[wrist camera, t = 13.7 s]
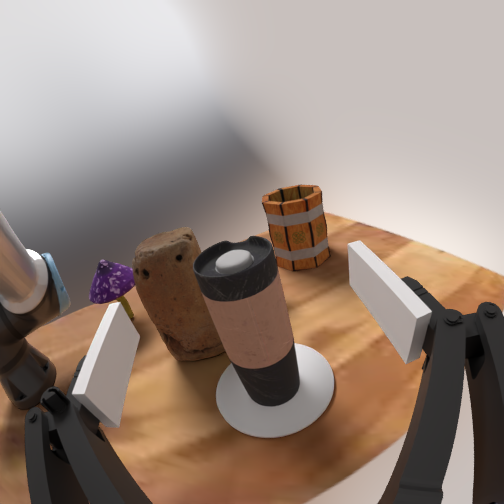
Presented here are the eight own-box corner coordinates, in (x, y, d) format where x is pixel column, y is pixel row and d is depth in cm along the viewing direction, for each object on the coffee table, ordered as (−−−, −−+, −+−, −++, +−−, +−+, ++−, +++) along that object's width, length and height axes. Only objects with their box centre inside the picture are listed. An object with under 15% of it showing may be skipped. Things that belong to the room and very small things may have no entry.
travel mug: (270, 419, 29) (218, 289, 20) (234, 386, 35) (178, 262, 26) (314, 381, 32) (291, 244, 24) (275, 355, 38) (240, 229, 29)
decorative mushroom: (99, 335, 52) (66, 279, 46) (123, 302, 63) (97, 250, 57) (141, 336, 50) (106, 273, 43) (163, 299, 60) (137, 241, 54)
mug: (342, 256, 59) (335, 191, 52) (288, 278, 56) (274, 210, 50) (302, 230, 76) (292, 178, 70) (257, 246, 74) (244, 192, 67)
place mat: (199, 424, 30) (197, 422, 30) (239, 341, 43) (238, 339, 43) (323, 444, 24) (323, 443, 24) (339, 345, 37) (339, 343, 37)
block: (230, 324, 48) (193, 220, 39) (237, 352, 41) (194, 237, 32) (173, 341, 47) (125, 243, 38) (174, 370, 40) (114, 264, 31)
